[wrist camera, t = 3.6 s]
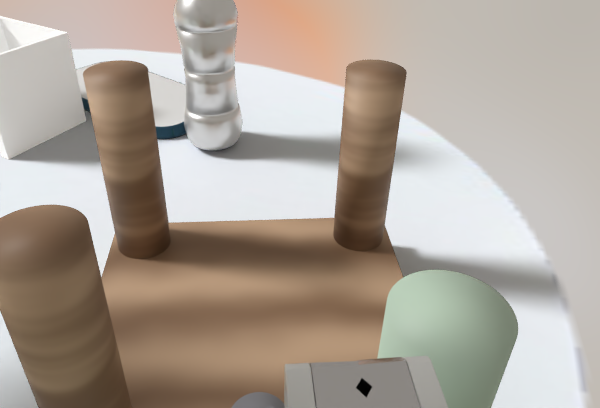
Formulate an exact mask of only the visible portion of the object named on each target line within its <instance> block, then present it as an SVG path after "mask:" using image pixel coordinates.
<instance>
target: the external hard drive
mask: <svg viewBox="0 0 600 408" xmlns="http://www.w3.org/2000/svg"><path fill="white" fill-rule="evenodd" d="M106 62H109V61H106ZM99 63H103V62H99ZM99 63H95V64H92V65H89V66H85V67H82V68H79V69H76V74H77V78H78V83H79V88H80V93H81V97H82V102H83V107H84V109H85V110H87V111H90V107H89V103H88V98H87V93H86V88H85V83H84V78H83V72H84V71H85V70H86V69H87V68H89V67H91V66H93V65H96V64H99ZM148 75H149V82H150V90H151V97H152V104H153V112H154V119H155V127H156V134H157V139H170V138H175V137H179V136H181V135H184V134H186V130H185V126H184V114H185V107H186V85H185V84H182V83H179V82H176V81H174V80H171V79H168V78H165V77H162V76H160V75H157V74H154V73H151V72H149V71H148ZM158 126H159V127H158Z"/></svg>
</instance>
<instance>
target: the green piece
mask: <svg viewBox="0 0 600 408" xmlns="http://www.w3.org/2000/svg"><path fill="white" fill-rule="evenodd" d="M517 335H518V323H517V319H516V316H515V314H514V311H513V309H512V308H511V306H510V305H509V303H508V302H507V301H506V300H505V299H504V297H502V296H501V295H500V294H499V293H498V292H497V291H496V290H494V289H493V288H492V287H490V286H489V285H487V284H486V283H484V282H482V281H480V280H478V279H476V278H474V277H471V276H468V275H465V274H462V273H458V272H454V271H448V270H424V271H419V272H415V273H412V274H410V275H407V276H405V277H403V278H402V279H400V280H399V281H398V282H397V283H396V284H395V285H394V286H393V287H392V288H391V290H390V292H389V294H388V297H387V303H386V309H385V315H384V321H383V327H382V333H381V339H380V345H379V351H378V357H377V359H378V358H392V357H402V358H403V357H414V356H428V357H429V358H430V359H431V361H432V364H433V367H434V370H435V372H436V375H437V378H438V381H439V383H440V386H441V389H442V392H443V394H444V397H445V400H446V403H447V405H448V408H491V406H492V403H493V401H494V398H495V395H496V393H497V390H498V387H499V385H500V382H501V379H502V376H503V374H504V371H505V368H506V366H507V363H508V360H509V358H510V355H511V352H512V349H513V347H514V344H515V341H516V338H517ZM232 408H285V406H284V403H283V402H282V401H281V400H280V399H279V398H278V397H276V396H274V395H272V394H269V393H265V392H254V393H250V394H247V395H245V396H243V397H241V398H240V399H239V400H237V401H236V402H235V403H234V405H233V406H232Z"/></svg>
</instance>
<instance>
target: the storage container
mask: <svg viewBox="0 0 600 408" xmlns="http://www.w3.org/2000/svg"><path fill="white" fill-rule="evenodd" d="M85 121H86V116H85V112H84V107H83V102H82V97H81V93H80V88H79V83H78V78H77V74H76V69H75V64H74V60H73V55H72V50H71V46H70V41H69V36H68V32H64V31H59V30H56V29H51V28H47V27H43V26H39V25H35V24H31V23H27V22H22V21H18V20H14V19H10V18H6V17H2V16H0V153H1V157H3V158H6V159H8V160H9V159H11V158H13V157H15V156H17V155H19V154H21V153H23V152H25V151H27V150H29V149H31V148H33V147H35V146H37V145H39V144H41V143H43V142H45V141H47V140H49V139H51V138H53V137H55V136H57V135H59V134H61V133H63V132H65V131H67V130H69V129H71V128H73V127H75V126H77V125H79V124H81V123H83V122H85Z"/></svg>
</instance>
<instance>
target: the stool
mask: <svg viewBox="0 0 600 408" xmlns="http://www.w3.org/2000/svg"><path fill="white" fill-rule="evenodd" d="M83 78H84V83H85V88H86V93H87V98H88V103H89V107H90V112H91V117H92V122H93V127H94V132H95V137H96V142H97V146H98V151H99V156H100V161H101V166H102V171H103V176H104V181H105V185H106V190H107V195H108V200H109V205H110V210H111V215H112V220H113V224H114V229H115V235H114V239H113V242H112V245H111V248H110V252H109V255H108V258H107V261H106V265H105V268H104V271H103V275H102V278H101V275H100V270H99V266H98V262H97V258H96V254H95V249H94V245H93V241H92V237H91V232H90V228H89V224H88V220H87V218H86V217H85V216H84V215H83V214H82V213H81V212H80V211H78V210H76V209H74V208H71V207H67V206H62V205H40V206H34V207H29V208H25V209H21V210H18V211H15V212H12V213H10V214H8V215H6V216H4V217H2V218H0V311H1V314H2V316H3V319H4V321H5V324H6V326H7V329H8V331H9V334H10V336H11V339H12V341H13V344H14V346H15V349H16V352H17V354H18V357H19V359H20V362H21V364H22V367H23V369H24V372H25V374H26V377H27V379H28V382H29V384H30V387H31V389H32V392H33V394H34V397H35V400H36V402H37V405H38V407H39V408H232V406H233V405H234V403H235V402H236V401H237V400H239V399H240V398H241V397H243V396H245V395H247V394H250V393H254V392H265V393H269V394H272V395H274V396H276V397H278V398H279V399H280V400H281V401H282V402H283V403H284V366H285V364H295V363H309V364H310V363H316V362H345V361H356V360H365V359H377V357H378V351H379V345H380V339H381V333H382V327H383V321H384V315H385V309H386V303H387V297H388V294H389V292H390V290H391V288H392V287H393V286H394V285H395V284H396V283H397V282H398V281H399V280H400V279H402V278H403V275H402V272H401V270H400V267H399V264H398V261H397V259H396V256H395V253H394V250H393V247H392V245H391V242H390V239H389V236H388V233H387V231H386V228H385V225H384V224H385V218H386V211H387V204H388V197H389V190H390V183H391V176H392V169H393V163H394V156H395V149H396V142H397V135H398V128H399V121H400V114H401V107H402V100H403V93H404V87H405V80H406V70H405V69H404V68H403V67H401V66H399V65H397V64H395V63H392V62H388V61H382V60H361V61H356V62H353V63H351V64H349V65H348V66H347V69H346V82H345V94H344V106H343V118H342V131H341V143H340V156H339V168H338V181H337V193H336V206H335V218H317V219H283V220H249V221H215V222H181V223H168V216H167V209H166V202H165V194H164V187H163V179H162V172H161V164H160V157H159V149H158V142H157V134H156V127H155V119H154V112H153V104H152V97H151V90H150V82H149V75H148V68H147V67H146V66H145V65H143V64H141V63H138V62H134V61H109V62H103V63H99V64H96V65H93V66H91V67H89V68H87V69H86V70H85V71H84V72H83Z"/></svg>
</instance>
